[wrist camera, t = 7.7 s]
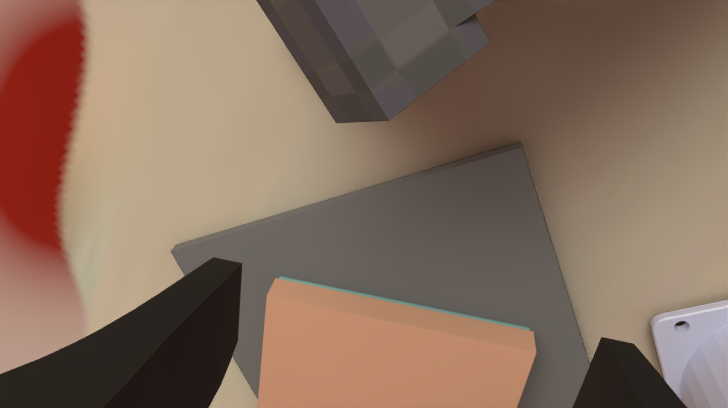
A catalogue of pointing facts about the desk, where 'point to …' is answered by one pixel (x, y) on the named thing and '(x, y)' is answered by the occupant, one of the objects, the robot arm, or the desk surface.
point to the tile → (385, 353)
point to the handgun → (376, 49)
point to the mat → (420, 260)
